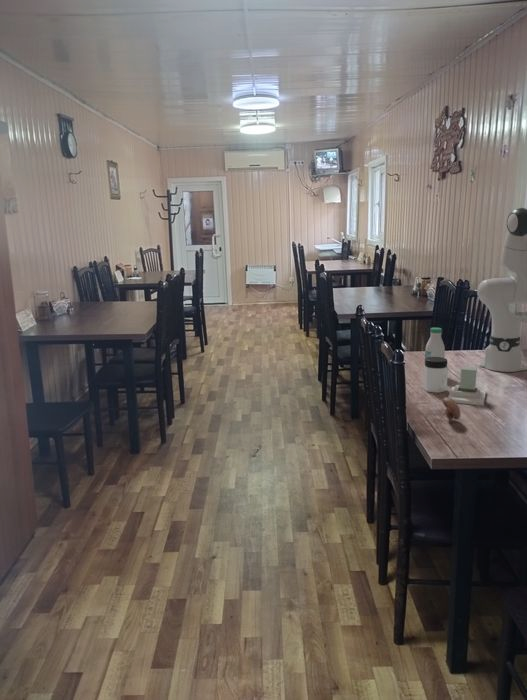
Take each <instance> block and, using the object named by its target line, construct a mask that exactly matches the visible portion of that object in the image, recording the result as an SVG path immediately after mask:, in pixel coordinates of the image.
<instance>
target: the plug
mask: <svg viewBox="0 0 527 700" xmlns="http://www.w3.org/2000/svg"><path fill="white" fill-rule="evenodd" d="M477 370H478V367H477V366H469V365H467V366H466V365H462V366H461V369H460V382H459V385H460V388H461V391H464V392H474V389H475V387H477V386H476V385H477Z"/></svg>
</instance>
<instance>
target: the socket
mask: <svg viewBox="0 0 527 700" xmlns="http://www.w3.org/2000/svg"><path fill="white" fill-rule="evenodd" d="M486 392H487V389H482V386H481V387H480V386H475V389H474V392H464V391H461V388H460V384H455V386H451V389H450V390H449V393H448V396H447V397H449V398H452V399H453V400H454V401H455V402H456V404H463V405H464V404H465V405H474V406H484V404H485V399H486V394H487V393H486Z"/></svg>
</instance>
